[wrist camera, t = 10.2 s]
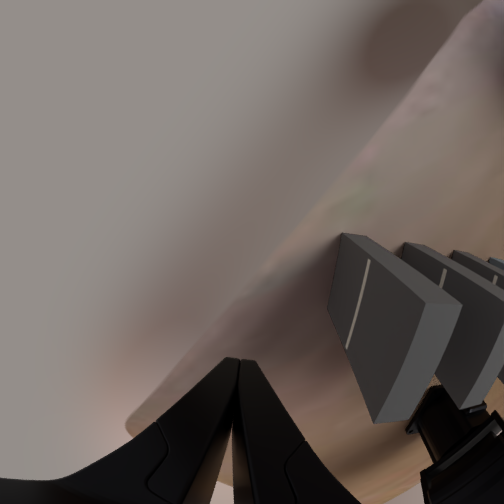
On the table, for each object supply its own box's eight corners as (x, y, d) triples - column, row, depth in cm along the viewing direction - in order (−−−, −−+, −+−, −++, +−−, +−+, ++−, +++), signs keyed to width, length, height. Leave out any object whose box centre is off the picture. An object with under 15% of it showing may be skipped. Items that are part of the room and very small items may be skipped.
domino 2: (405, 312, 18) (481, 403, 8) (386, 312, 18) (458, 409, 8) (424, 245, 16) (528, 306, 7) (404, 241, 16) (510, 306, 7)
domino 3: (450, 314, 18) (525, 388, 8) (435, 313, 18) (511, 393, 8) (468, 252, 16) (563, 305, 7) (453, 250, 16) (553, 305, 7)
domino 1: (349, 309, 18) (408, 419, 8) (326, 307, 18) (372, 423, 8) (366, 236, 17) (463, 304, 7) (341, 232, 17) (425, 302, 7)
